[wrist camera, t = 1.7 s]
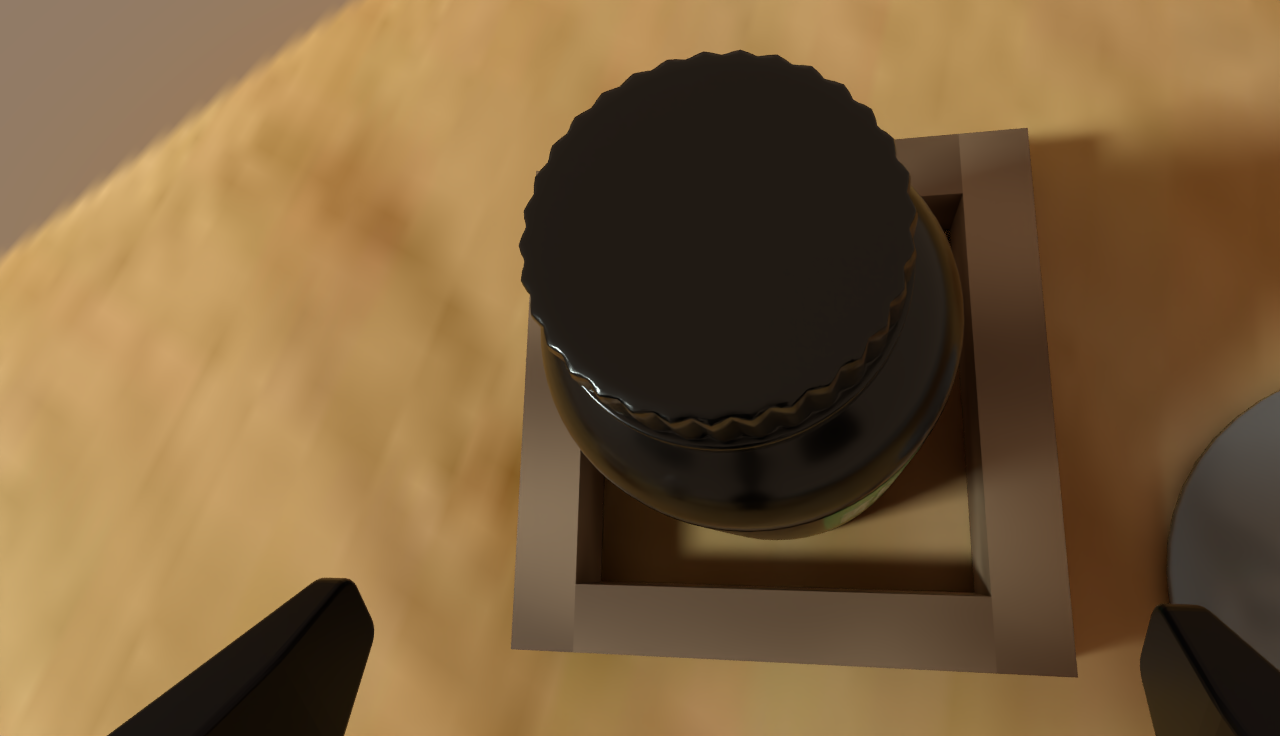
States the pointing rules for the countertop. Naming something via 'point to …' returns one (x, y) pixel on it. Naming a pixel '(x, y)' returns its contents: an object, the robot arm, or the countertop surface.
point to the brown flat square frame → (831, 617)
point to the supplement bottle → (741, 296)
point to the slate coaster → (1233, 530)
